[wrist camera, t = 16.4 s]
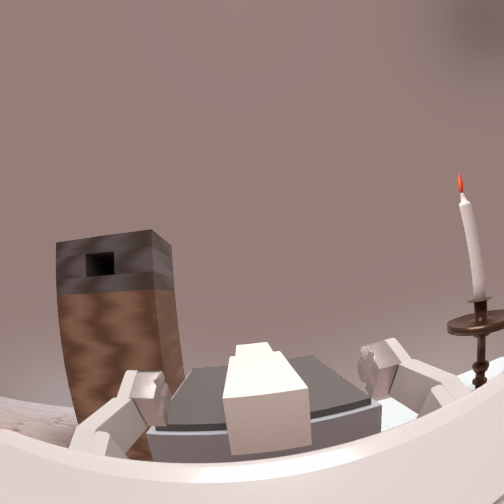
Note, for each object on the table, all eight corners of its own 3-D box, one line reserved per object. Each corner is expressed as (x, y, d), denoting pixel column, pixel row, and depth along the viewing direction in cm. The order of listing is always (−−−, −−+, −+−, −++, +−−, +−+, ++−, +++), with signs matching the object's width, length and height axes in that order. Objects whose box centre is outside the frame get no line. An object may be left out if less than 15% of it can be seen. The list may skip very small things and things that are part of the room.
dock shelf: (194, 562, 11) (144, 426, 13) (209, 473, 27) (189, 367, 29) (366, 539, 12) (381, 397, 14) (321, 460, 27) (315, 353, 30)
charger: (231, 455, 10) (222, 398, 11) (236, 370, 26) (232, 341, 27) (311, 444, 10) (308, 387, 11) (272, 366, 27) (269, 337, 27)
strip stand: (91, 462, 26) (56, 239, 31) (116, 436, 35) (90, 252, 40) (185, 473, 26) (151, 226, 31) (196, 440, 36) (171, 242, 41)
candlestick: (484, 390, 30) (465, 184, 36) (519, 408, 20) (498, 158, 25) (433, 410, 32) (413, 187, 37) (464, 437, 21) (442, 157, 27)
